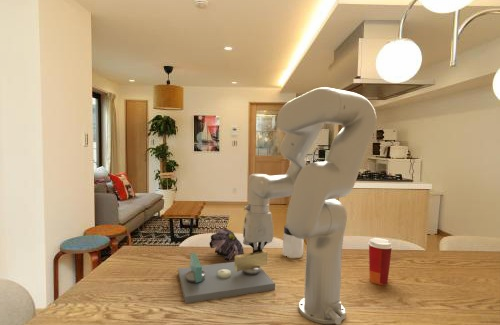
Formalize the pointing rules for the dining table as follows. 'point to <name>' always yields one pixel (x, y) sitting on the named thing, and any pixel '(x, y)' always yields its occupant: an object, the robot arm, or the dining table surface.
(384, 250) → the paper cup
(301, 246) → the jar
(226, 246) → the decorative flower
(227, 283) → the board
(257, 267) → the knob
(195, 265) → the knob
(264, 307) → the dining table surface
